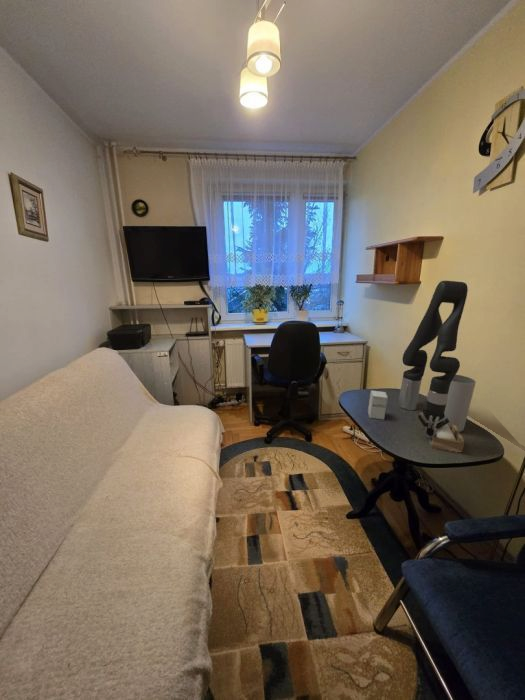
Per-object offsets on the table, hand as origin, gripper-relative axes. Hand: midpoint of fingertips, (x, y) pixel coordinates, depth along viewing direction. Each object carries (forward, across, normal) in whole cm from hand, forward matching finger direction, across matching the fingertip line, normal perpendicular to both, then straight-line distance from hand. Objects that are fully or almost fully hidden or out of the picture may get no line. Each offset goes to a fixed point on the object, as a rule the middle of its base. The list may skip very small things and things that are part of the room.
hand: (429, 435), depth 129 cm
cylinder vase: (+2, -12, -17) cm, 21 cm away
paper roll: (-1, -6, 0) cm, 6 cm away
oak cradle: (+2, -6, 0) cm, 6 cm away
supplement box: (+2, +22, -14) cm, 26 cm away
